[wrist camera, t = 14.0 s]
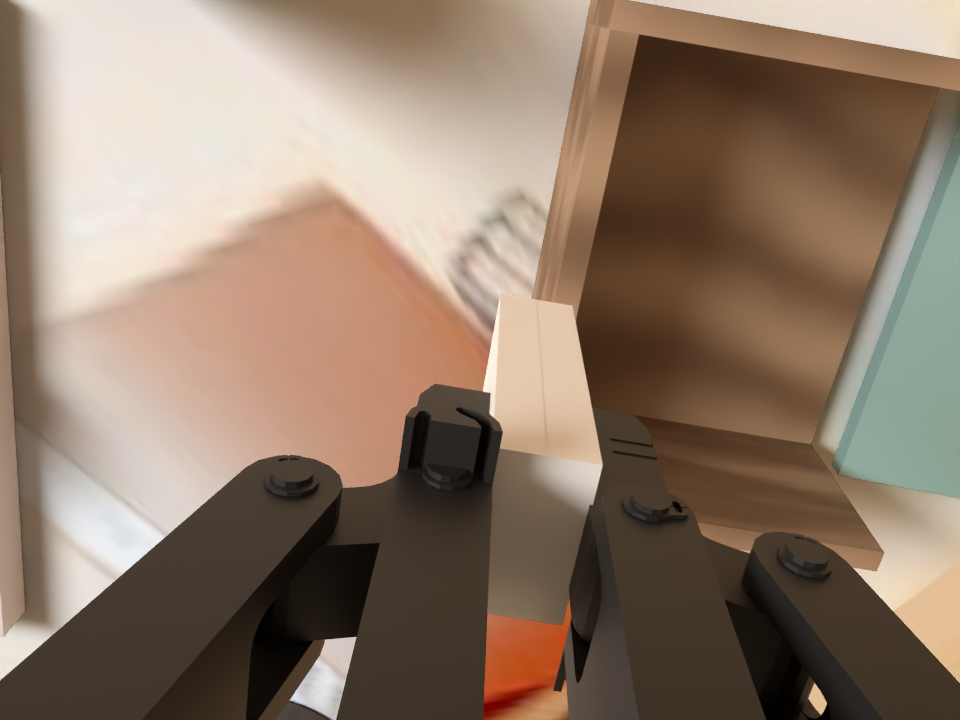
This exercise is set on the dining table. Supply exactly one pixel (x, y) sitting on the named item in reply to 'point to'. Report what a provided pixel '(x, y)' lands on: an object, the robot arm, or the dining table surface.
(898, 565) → the dining table surface
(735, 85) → the crate
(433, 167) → the dining table surface
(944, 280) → the panel
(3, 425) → the serving tray
